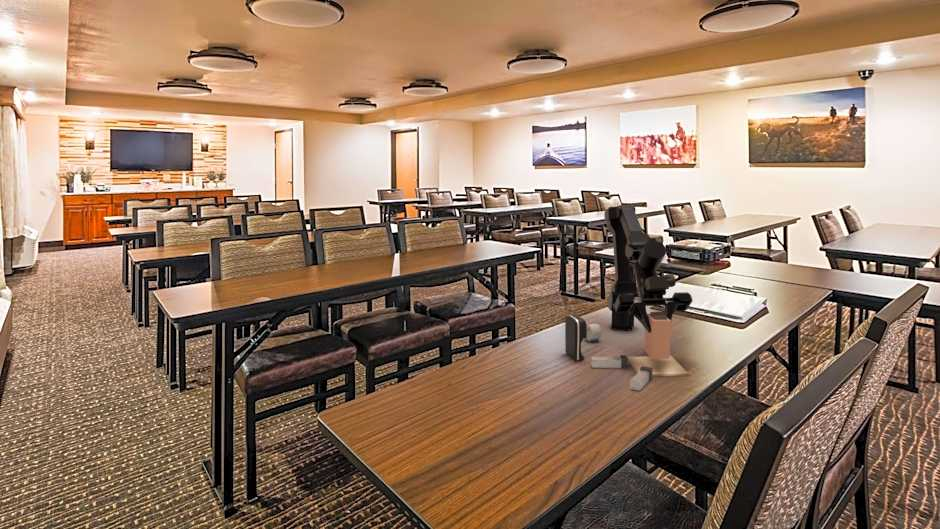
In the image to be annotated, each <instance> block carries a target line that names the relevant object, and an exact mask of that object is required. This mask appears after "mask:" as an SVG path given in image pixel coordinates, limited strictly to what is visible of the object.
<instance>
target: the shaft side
mask: <svg viewBox="0 0 940 529" xmlns="http://www.w3.org/2000/svg"><path fill="white" fill-rule="evenodd" d="M627 357H628V356H627V355H626V354H625V355H623V354H622V355H619V356H590V366H591V368H592V369H622V370H623V369H628V366H629V364H628V363H629V362H628V358H627Z"/></svg>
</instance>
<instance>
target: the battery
mask: <svg viewBox="0 0 940 529" xmlns="http://www.w3.org/2000/svg"><path fill="white" fill-rule="evenodd" d="M564 320H565V322H564V324H565V326H564V327H565V328H564V329H565V330H564V331H565V332H564V334H565V336H564V337H565V338H564V339H565V343H564V344H565V347H564V349H565V351H564V352H565V354H566V355H568V356H569V357H570V358H571V359H573V360H574V361H582V360H584V359H585V356H584V355H583V353H582V342H583V341H584V339H586V338H587V325H588V324H587V321H586V320H585V319H584V318H582V317H581V316H579V315H578V314H572V315H571V314H569V315H566V316H565V319H564Z"/></svg>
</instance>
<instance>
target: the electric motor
mask: <svg viewBox="0 0 940 529" xmlns="http://www.w3.org/2000/svg"><path fill="white" fill-rule="evenodd" d="M586 325H587V338H585V340H586V341H587V342H588V341H589V343H593V341H595V342H599V340H600V339H601V337H602V328H601V326H600V325H599V324H598V323H592V324H586Z"/></svg>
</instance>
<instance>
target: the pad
mask: <svg viewBox="0 0 940 529" xmlns="http://www.w3.org/2000/svg"><path fill="white" fill-rule="evenodd" d="M627 358H628V363H629V365H630V366H631V367H632V368H633V370H634V371H635V373H636V374H637V373H638V372H639V371H640V368H641V367H642V366H645V367H650V368H653V374H652V377H687V376H689V375H690V374H689V372H688V371H687V370H686V369H685V368H683V366H682V364H680V363H679V362H678V361H677V360H676V359H675V358H674V357H673V356H672V355H670V356H669V359H651V357H650V356H649V355H648V356H646V355H645V356H627Z"/></svg>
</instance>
